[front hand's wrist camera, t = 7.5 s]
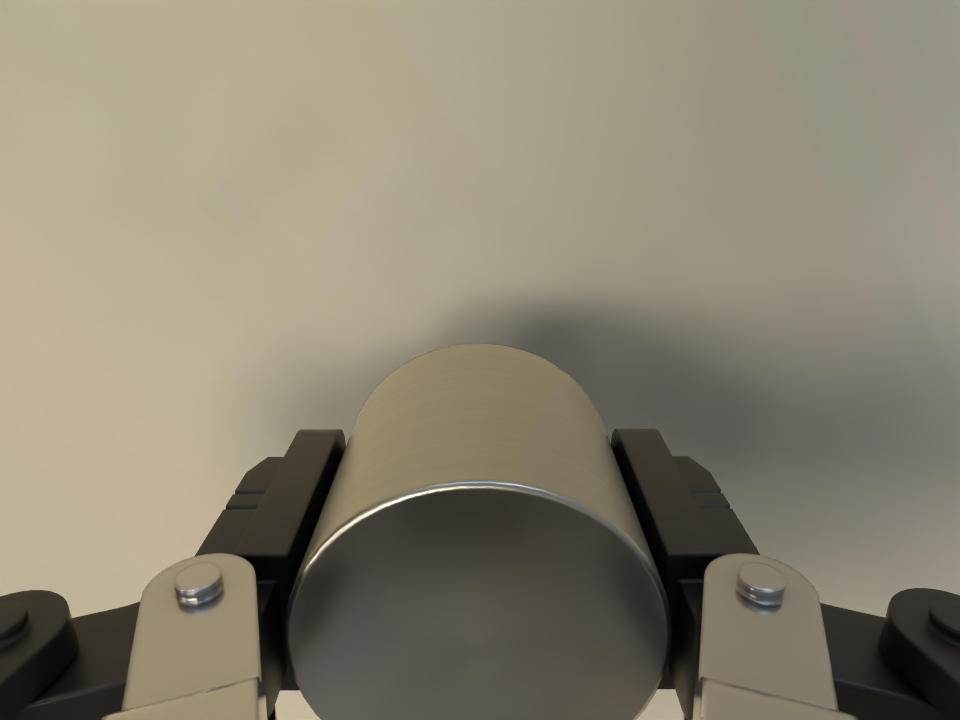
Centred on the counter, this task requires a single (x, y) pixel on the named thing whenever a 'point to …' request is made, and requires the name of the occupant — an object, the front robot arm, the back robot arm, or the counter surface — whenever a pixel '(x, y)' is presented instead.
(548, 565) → the can
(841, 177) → the counter surface
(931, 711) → the front robot arm
